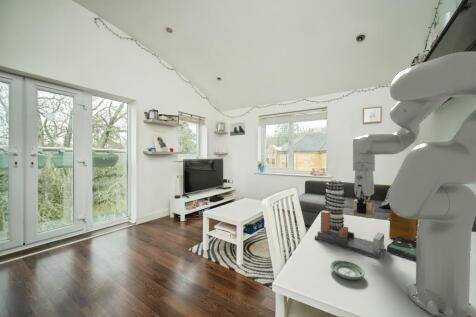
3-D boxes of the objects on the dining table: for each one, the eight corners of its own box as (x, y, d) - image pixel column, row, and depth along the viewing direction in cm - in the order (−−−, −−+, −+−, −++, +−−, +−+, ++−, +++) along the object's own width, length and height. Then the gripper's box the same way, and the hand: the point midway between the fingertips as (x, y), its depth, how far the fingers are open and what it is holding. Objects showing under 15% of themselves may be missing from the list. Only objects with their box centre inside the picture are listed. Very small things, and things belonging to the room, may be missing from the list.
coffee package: (421, 238, 91) (422, 190, 90) (413, 245, 84) (414, 193, 83) (395, 231, 99) (395, 187, 98) (385, 237, 92) (385, 189, 91)
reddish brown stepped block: (342, 241, 84) (342, 217, 84) (318, 234, 91) (319, 212, 91) (348, 236, 89) (348, 213, 89) (325, 230, 96) (325, 209, 96)
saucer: (334, 263, 71) (334, 256, 71) (366, 273, 65) (366, 266, 65) (326, 276, 63) (326, 268, 63) (362, 289, 57) (362, 280, 57)
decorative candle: (348, 233, 96) (349, 181, 96) (329, 233, 96) (329, 182, 96) (339, 226, 105) (339, 179, 105) (321, 226, 105) (321, 179, 105)
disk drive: (397, 242, 88) (386, 252, 79) (397, 236, 88) (386, 245, 79) (430, 251, 80) (421, 264, 70) (430, 244, 80) (421, 256, 70)
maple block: (370, 218, 78) (370, 201, 77) (353, 215, 82) (353, 198, 82) (374, 215, 81) (374, 199, 81) (357, 212, 85) (357, 196, 85)
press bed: (378, 258, 73) (378, 241, 73) (314, 238, 90) (314, 224, 90) (384, 248, 81) (384, 232, 81) (324, 232, 98) (324, 219, 98)
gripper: (368, 168, 73) (368, 218, 73) (379, 166, 84) (379, 209, 85) (346, 167, 78) (346, 214, 78) (359, 166, 90) (359, 206, 90)
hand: (363, 211), depth 81 cm, fingers closed on maple block, 5 cm apart
